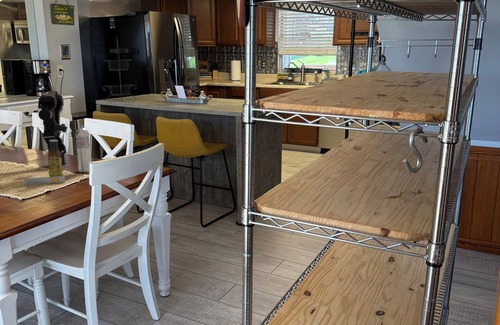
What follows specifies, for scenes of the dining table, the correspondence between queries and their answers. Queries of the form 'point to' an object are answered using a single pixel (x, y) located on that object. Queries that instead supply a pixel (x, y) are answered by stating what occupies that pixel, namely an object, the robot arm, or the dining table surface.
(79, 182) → the dining table surface
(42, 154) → the dining table surface
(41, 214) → the dining table surface
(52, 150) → the sauce bottle
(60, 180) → the rail
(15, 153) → the dining table surface
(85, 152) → the water bottle
